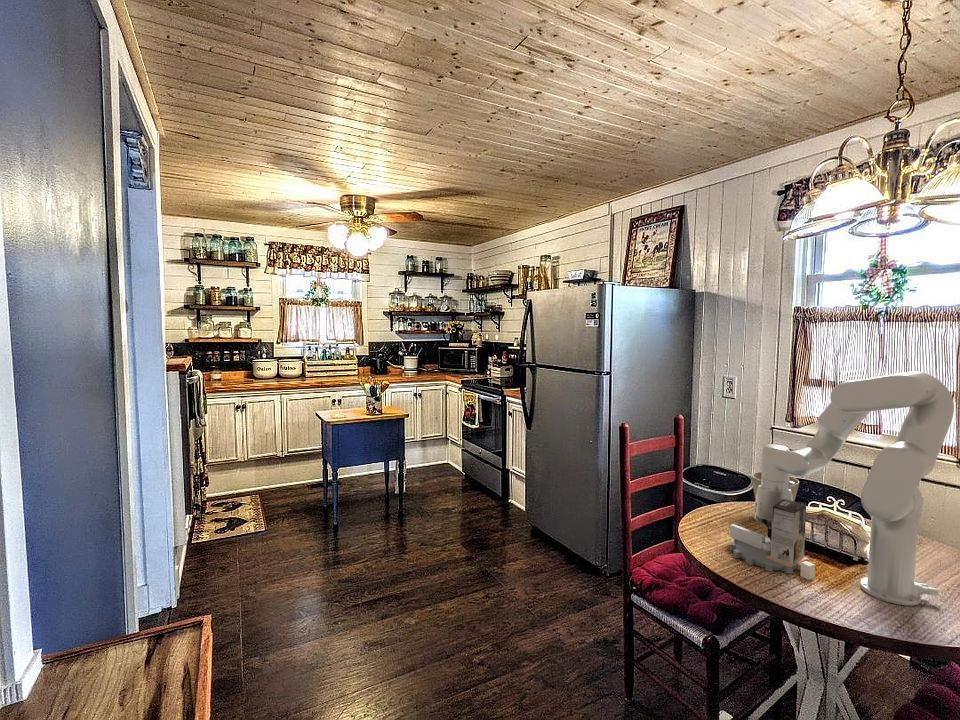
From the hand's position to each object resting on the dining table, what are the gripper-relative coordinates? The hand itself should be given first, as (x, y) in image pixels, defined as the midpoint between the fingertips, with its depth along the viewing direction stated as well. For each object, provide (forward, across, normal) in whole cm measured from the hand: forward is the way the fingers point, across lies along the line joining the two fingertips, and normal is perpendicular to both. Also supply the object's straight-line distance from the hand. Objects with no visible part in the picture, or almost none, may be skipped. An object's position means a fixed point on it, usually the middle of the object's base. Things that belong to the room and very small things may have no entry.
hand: (772, 540), depth 156 cm
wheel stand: (+3, 0, +9) cm, 10 cm away
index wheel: (+2, +3, +6) cm, 7 cm away
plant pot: (+3, -5, -28) cm, 29 cm away
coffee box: (+1, -2, +10) cm, 10 cm away
